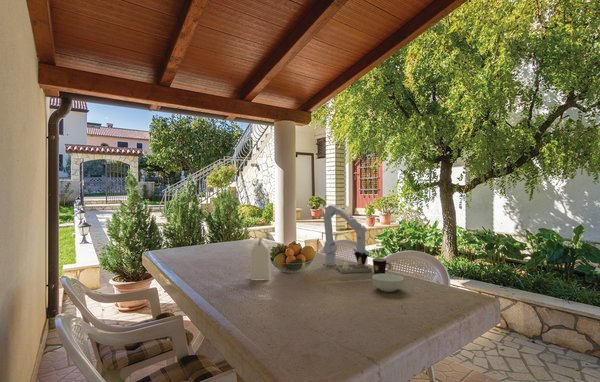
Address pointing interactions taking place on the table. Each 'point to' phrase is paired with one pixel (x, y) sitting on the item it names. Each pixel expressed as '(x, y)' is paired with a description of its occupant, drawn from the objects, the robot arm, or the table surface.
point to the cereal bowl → (387, 282)
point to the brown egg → (360, 262)
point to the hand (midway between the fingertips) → (361, 263)
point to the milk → (260, 261)
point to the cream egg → (345, 266)
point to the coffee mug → (380, 265)
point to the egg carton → (354, 268)
